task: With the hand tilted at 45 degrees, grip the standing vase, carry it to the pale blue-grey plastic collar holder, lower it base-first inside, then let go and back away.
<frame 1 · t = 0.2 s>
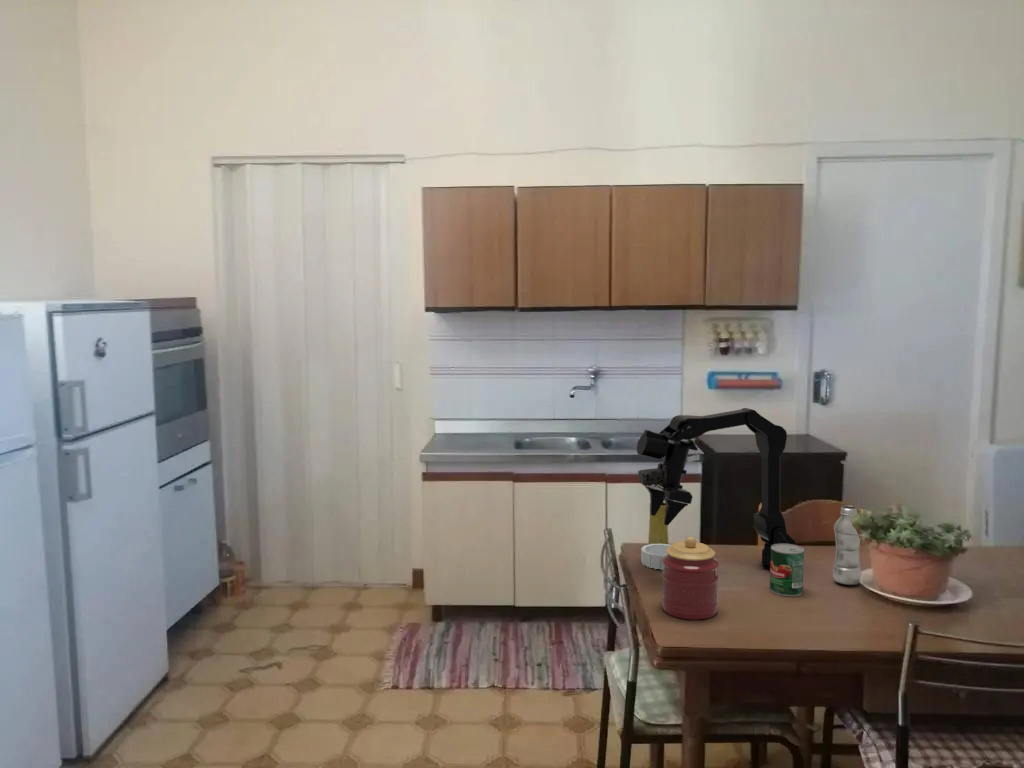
hand: (659, 520, 201), 15 cm above the table, tool pointing down, fingers open, 9 cm apart
plastic bottle: (846, 584, 196), on the table
vase: (658, 551, 223), on the table
canned tomato: (786, 591, 191), on the table
collar holder: (661, 563, 213), on the table
canister: (689, 610, 180), on the table
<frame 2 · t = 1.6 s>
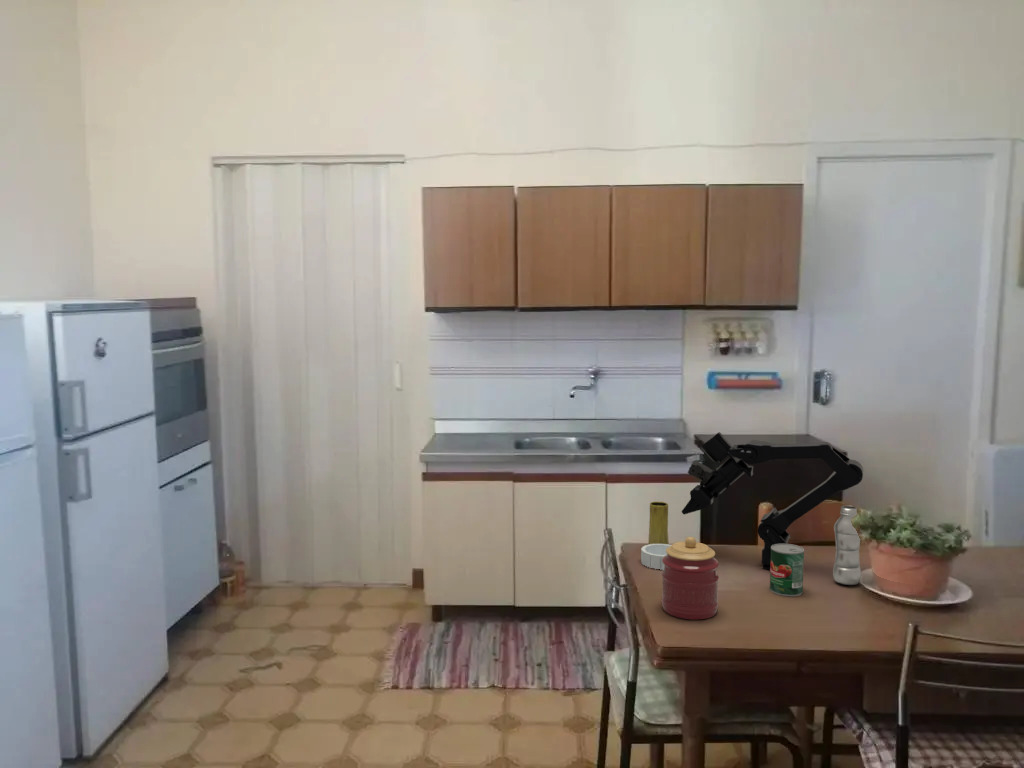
hand: (686, 509, 218), 14 cm above the table, tool tilted 45°, fingers open, 9 cm apart
nothing on the table moved.
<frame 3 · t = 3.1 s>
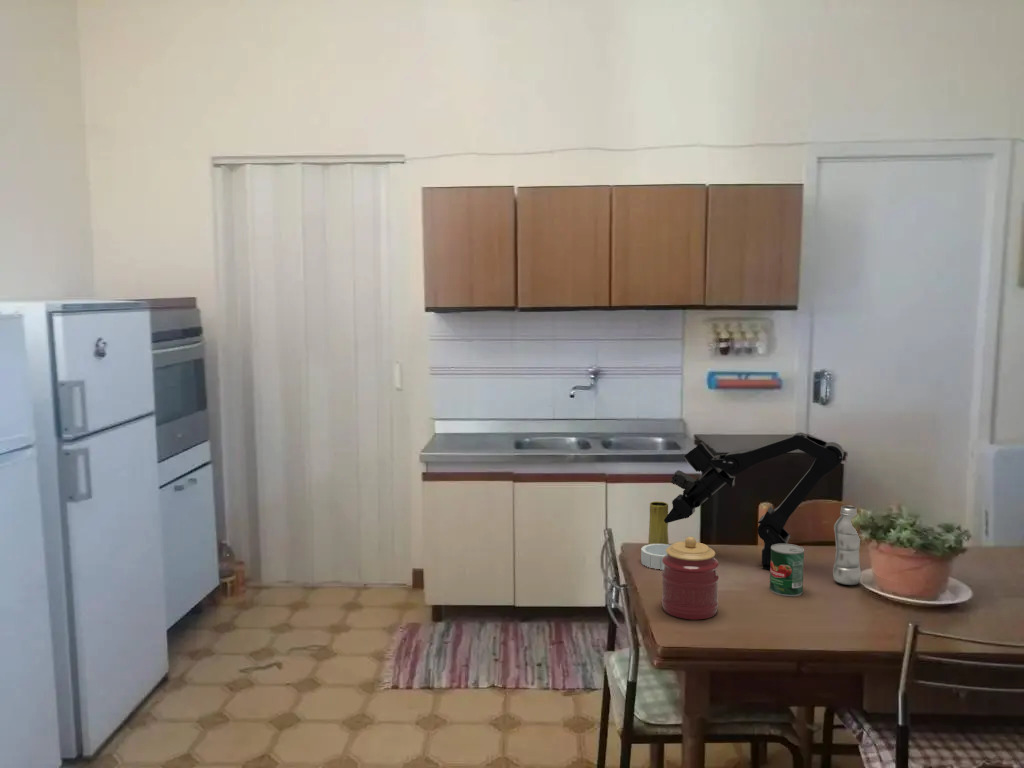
hand: (669, 517, 221), 10 cm above the table, tool tilted 45°, fingers open, 9 cm apart
nothing on the table moved.
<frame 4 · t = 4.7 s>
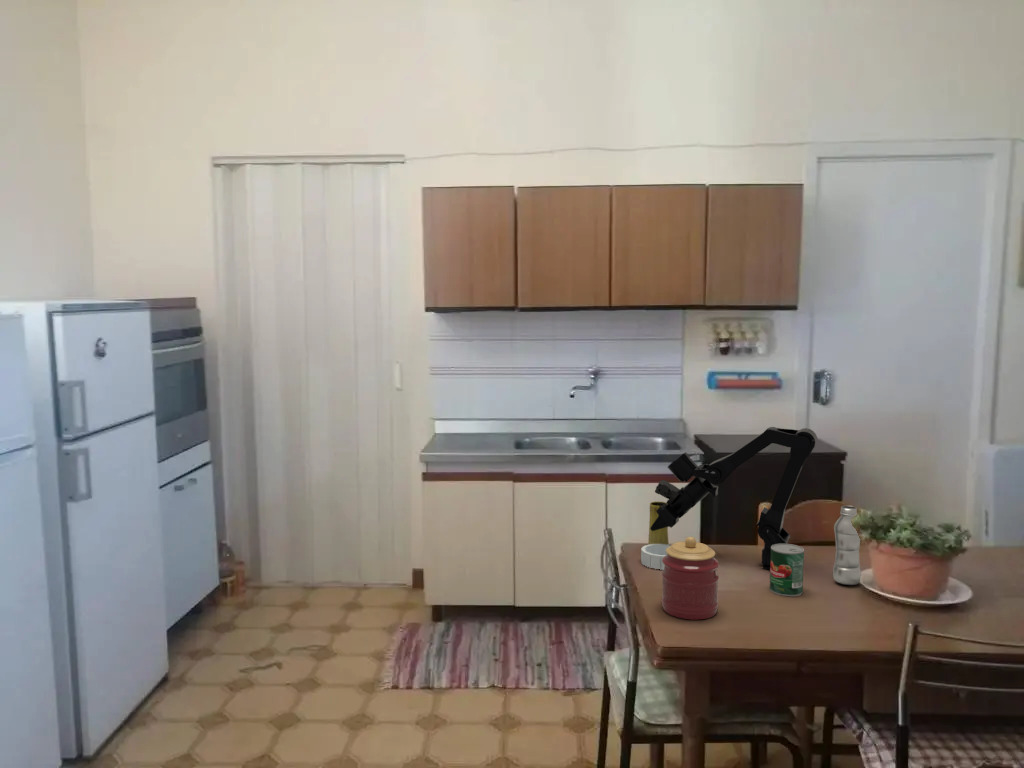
hand: (653, 527, 223), 7 cm above the table, tool tilted 45°, fingers closed on vase, 5 cm apart
vase: (658, 551, 223), on the table, touching gripper
everything else where it was.
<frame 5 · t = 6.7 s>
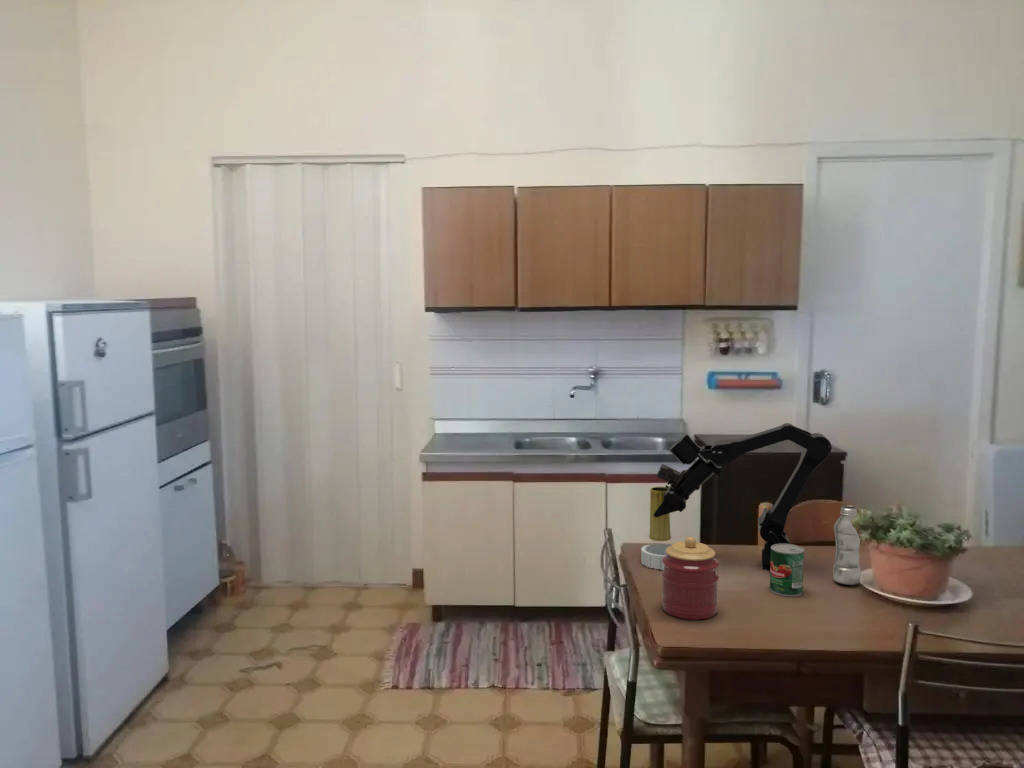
hand: (655, 513, 215), 13 cm above the table, tool tilted 45°, fingers closed on vase, 5 cm apart
vase: (660, 538, 216), point 6 cm above the table, touching gripper
everything else where it was.
when the fingers open (8 cm above the table, at t = 8.6 s): vase stays where it is, resting on collar holder.
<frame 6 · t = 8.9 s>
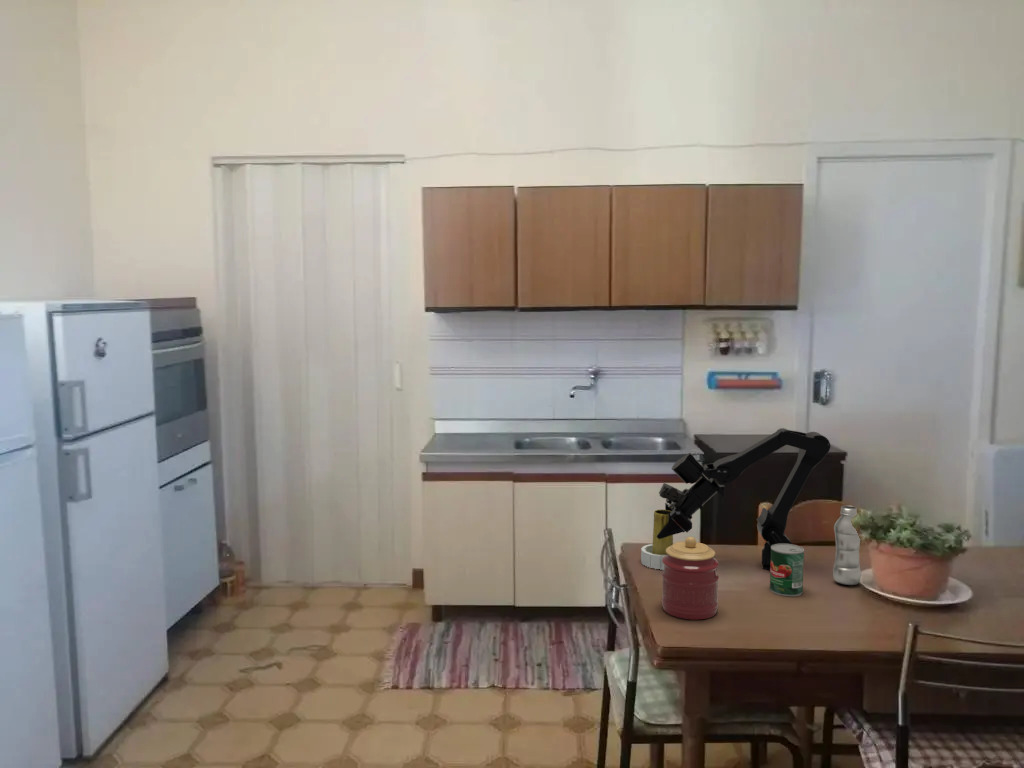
hand: (656, 533, 212), 9 cm above the table, tool tilted 45°, fingers open, 8 cm apart
vase: (662, 562, 213), resting on collar holder
everything else where it was.
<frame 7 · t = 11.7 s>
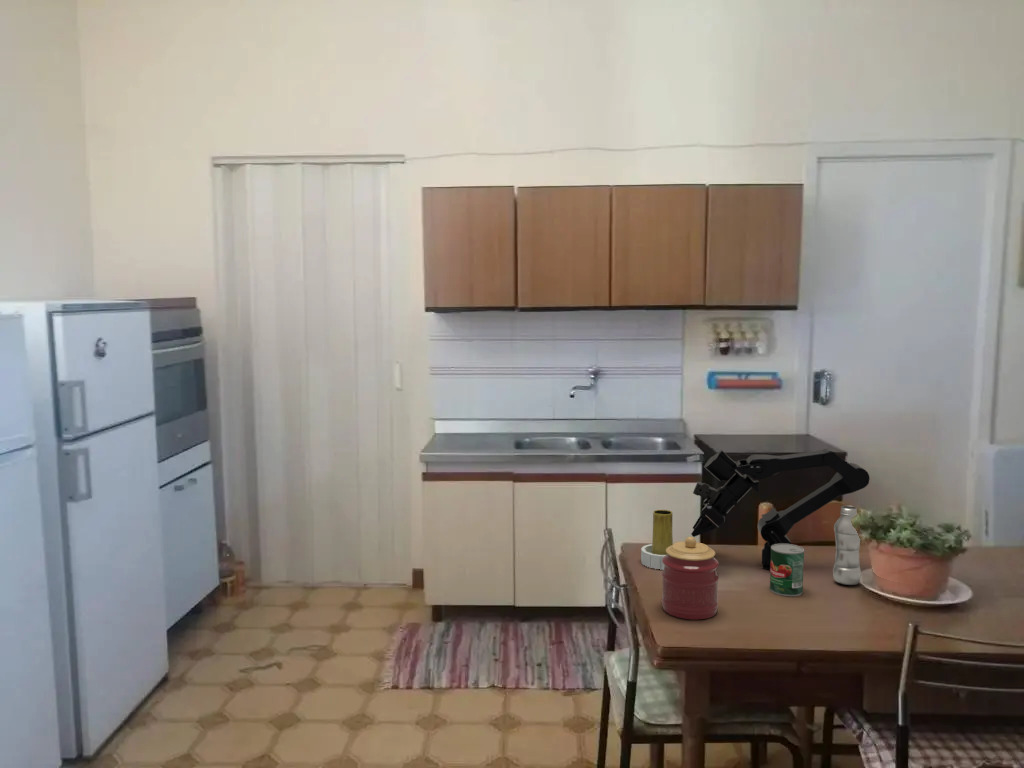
hand: (693, 532, 212), 9 cm above the table, tool tilted 40°, fingers open, 9 cm apart
nothing on the table moved.
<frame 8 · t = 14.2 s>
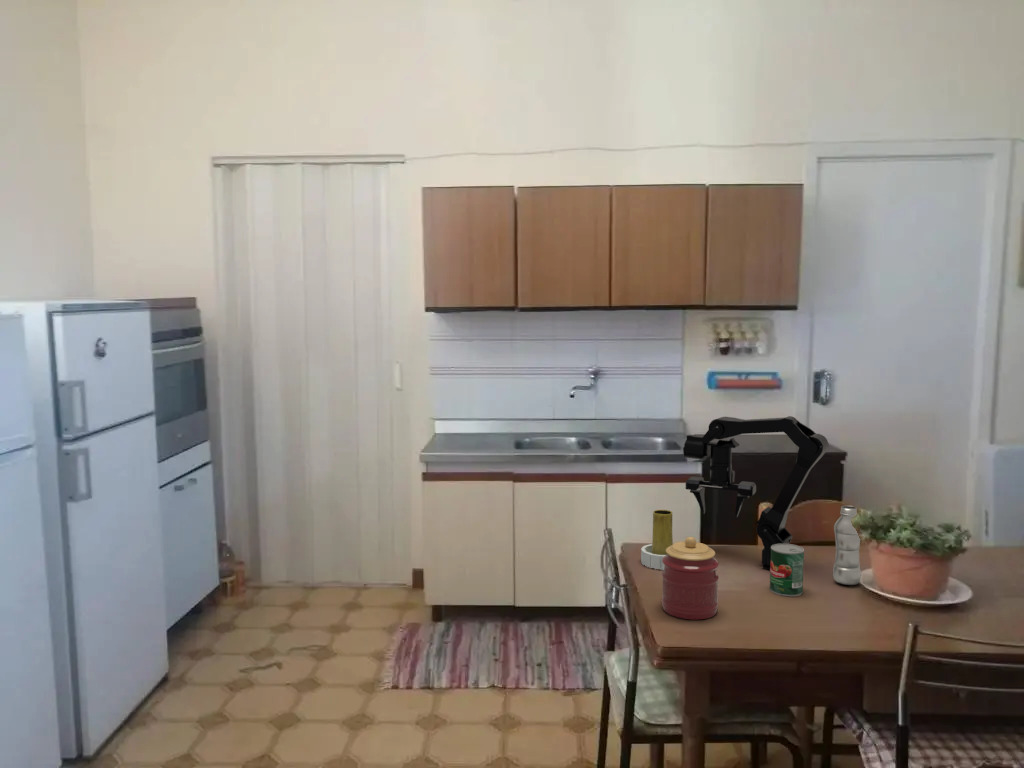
hand: (719, 515, 217), 12 cm above the table, tool pointing down, fingers open, 9 cm apart
nothing on the table moved.
at the end: vase 0.2 cm off-centre on the collar holder, point 0.2 cm above the collar holder's base; vase tilted 0°; the gripper is holding nothing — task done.
